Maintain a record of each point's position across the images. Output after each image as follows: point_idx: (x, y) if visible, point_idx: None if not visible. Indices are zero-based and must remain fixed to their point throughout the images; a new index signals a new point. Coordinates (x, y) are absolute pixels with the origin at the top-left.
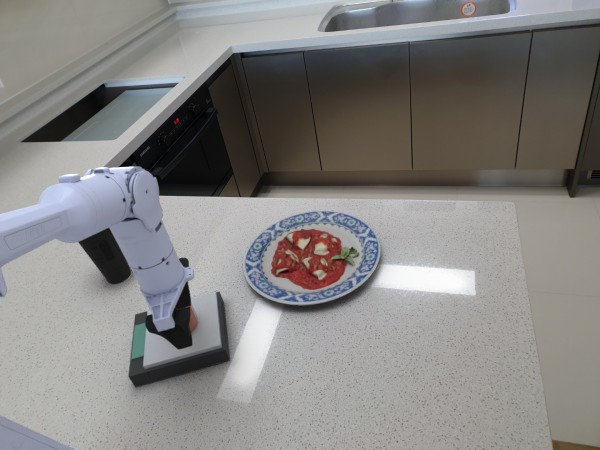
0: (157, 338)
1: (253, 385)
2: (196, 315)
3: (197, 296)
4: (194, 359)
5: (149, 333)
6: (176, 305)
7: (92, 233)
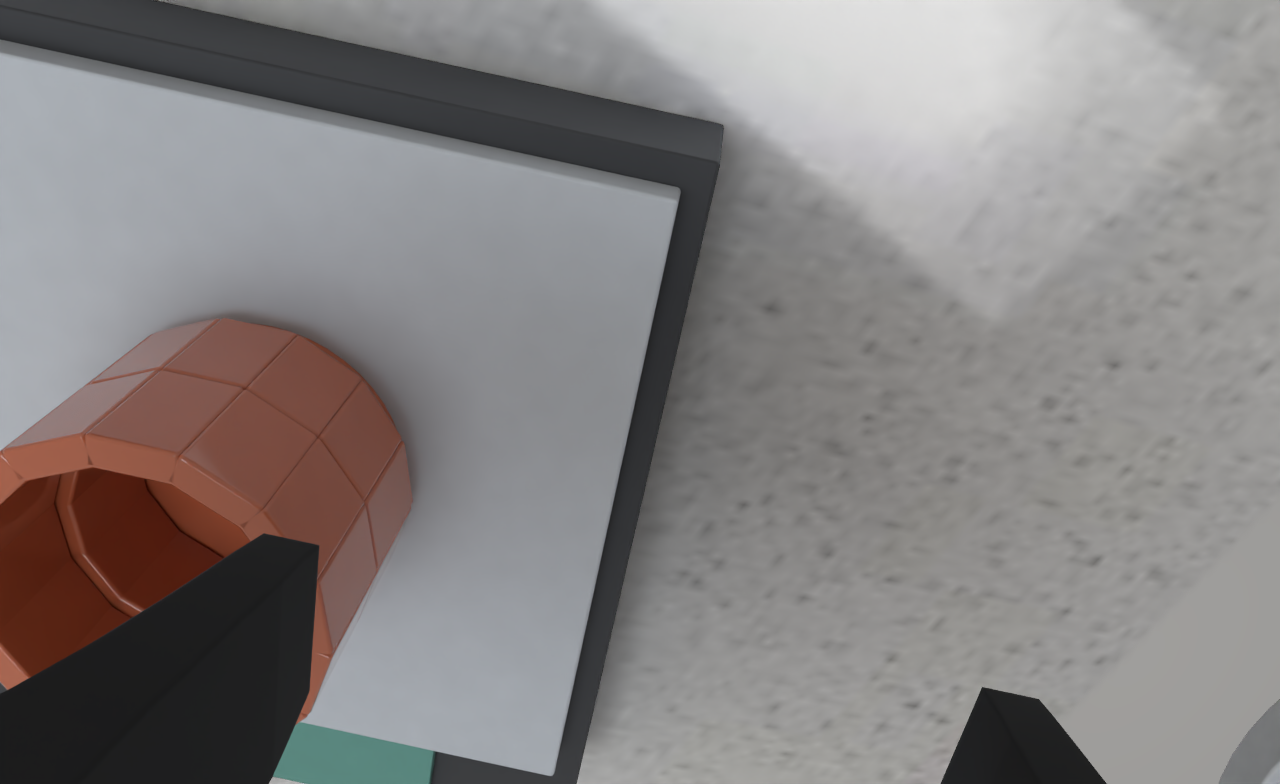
0: None
1: (1094, 16)
2: (228, 334)
3: None
4: (658, 429)
5: None
6: (281, 739)
7: None
